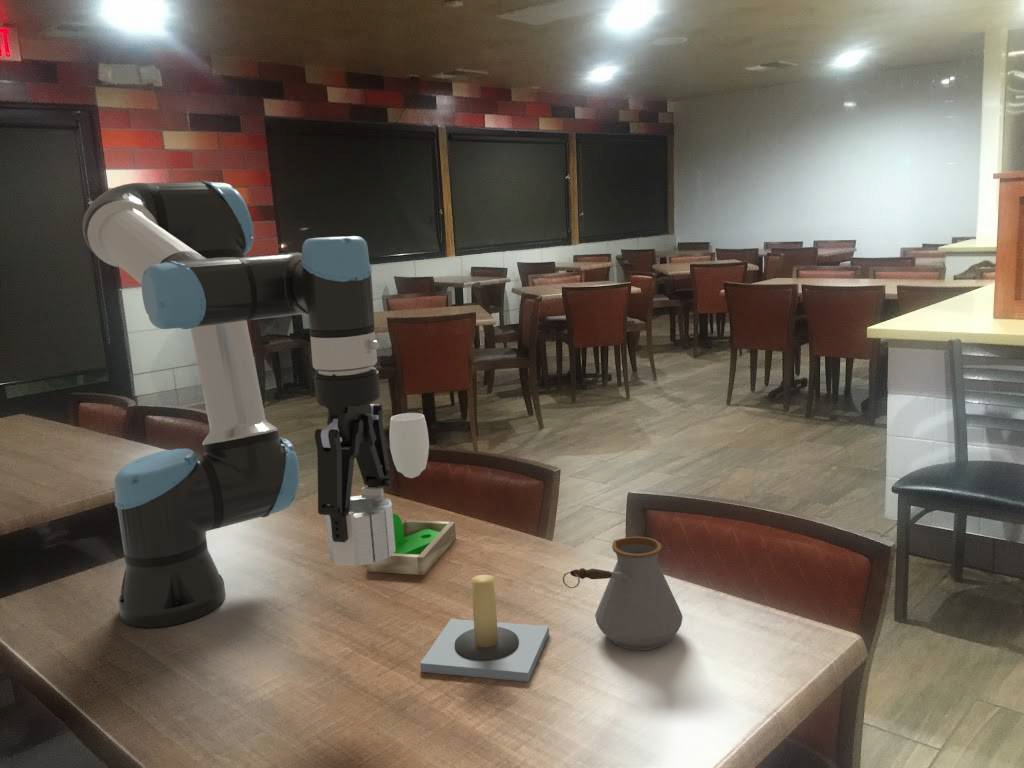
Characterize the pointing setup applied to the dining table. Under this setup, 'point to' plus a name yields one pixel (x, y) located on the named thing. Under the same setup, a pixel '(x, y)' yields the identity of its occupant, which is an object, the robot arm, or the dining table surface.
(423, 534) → the mechanical part
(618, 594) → the coffee pot
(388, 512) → the ring
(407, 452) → the white rounded tapered piece
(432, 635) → the dining table surface
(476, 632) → the square base plate
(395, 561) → the parts corral
